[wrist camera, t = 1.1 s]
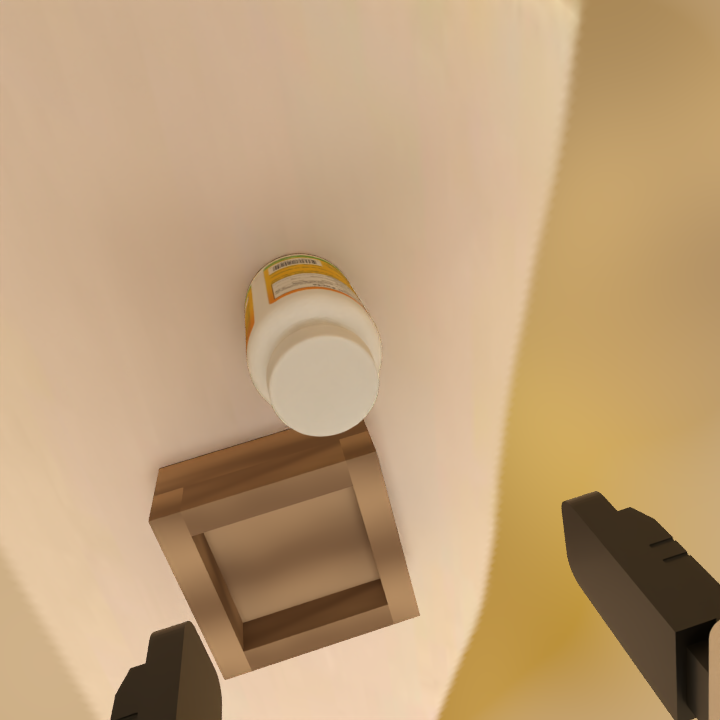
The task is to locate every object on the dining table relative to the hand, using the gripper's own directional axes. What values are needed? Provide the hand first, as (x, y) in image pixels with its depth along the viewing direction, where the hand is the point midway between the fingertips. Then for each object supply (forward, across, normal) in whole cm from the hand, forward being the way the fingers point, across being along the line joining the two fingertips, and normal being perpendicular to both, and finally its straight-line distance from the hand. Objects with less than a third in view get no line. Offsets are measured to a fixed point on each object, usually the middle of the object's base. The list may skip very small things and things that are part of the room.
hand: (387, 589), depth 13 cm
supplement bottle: (+20, 0, 0) cm, 20 cm away
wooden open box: (+20, +4, +12) cm, 23 cm away
